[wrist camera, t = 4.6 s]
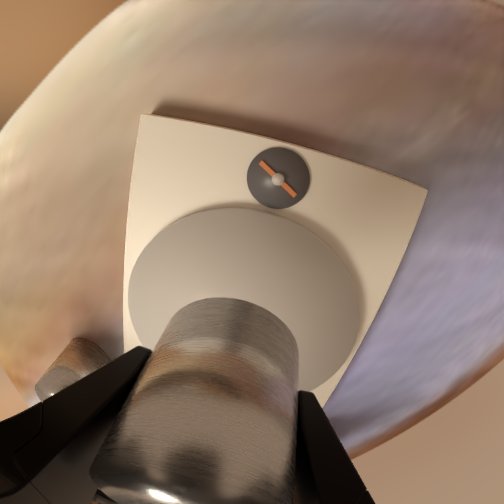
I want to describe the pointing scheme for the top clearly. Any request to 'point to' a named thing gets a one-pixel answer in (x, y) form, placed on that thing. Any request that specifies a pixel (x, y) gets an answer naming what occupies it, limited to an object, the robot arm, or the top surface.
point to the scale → (262, 237)
